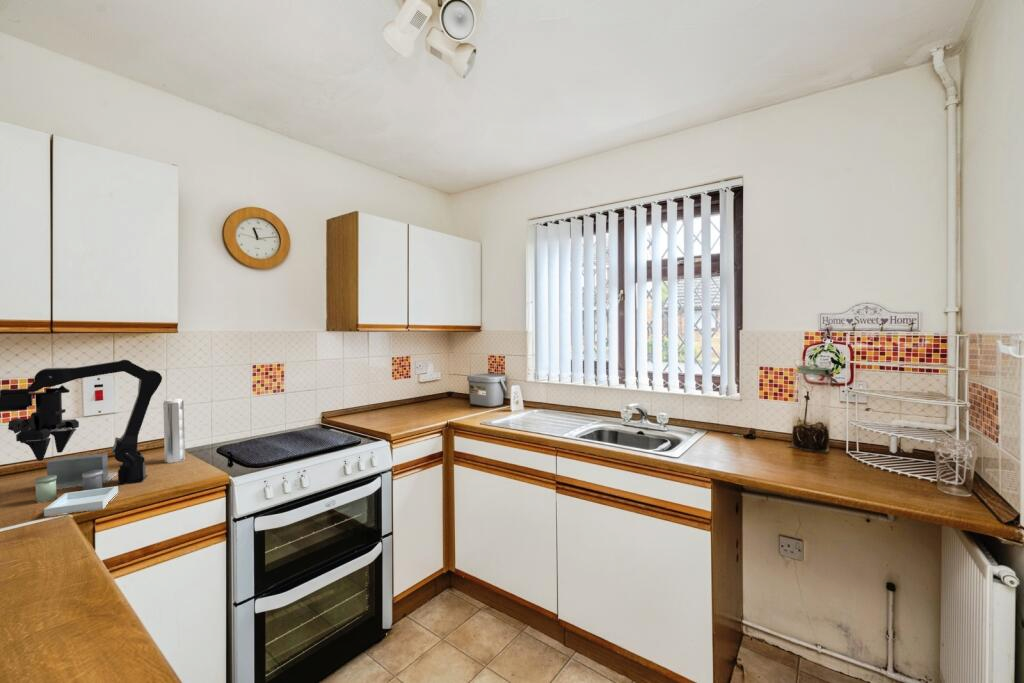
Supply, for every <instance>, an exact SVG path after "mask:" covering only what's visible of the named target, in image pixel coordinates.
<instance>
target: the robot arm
mask: <svg viewBox="0 0 1024 683" xmlns="http://www.w3.org/2000/svg"><path fill="white" fill-rule="evenodd" d="M120 372H121V373H122V372H124V373H127V374H129V375H130V376H133V378H137V379H138V385H137V395H136V398H135V400H134V401H135V402H134V403H133V407H132V410H131V413H130V415H129V419H128V421H127V423H126V427H125V429H124V433H123V434H122V436H121V437H115V438H114V443H113V445H112V447H111V448H110V449H111V452H112V454H113V457H114V459H115V460H116V461H118V462H120V463H121V464H120V465H119V469H118V470H117V477H118V478H117V479H118V480H117V481H118V485H126V484H125V483H127V484H133V482H135V483H141V481H142V482H143V481H144V480H146V478H147V477H148V475H147V474H146V473H147V472H146V460H145V457H144V454H143V453H142V452H140V451H138V443H139V442H138V441H139V434H140V430H141V428H142V425H143V422H144V420H145V417H146V414H147V411H148V408H149V405H150V401H151V399H152V398H153V395H154V394H155V393H156V391H157V390H158V389H159V387H160V385H161V383H162V381H163V376H162V374H161V373H160V372H158V371H156V370H153V369H145V368H143V367H141V366H139V365H138V364H136V363H134V362H132V361H130V360H128V359H121V360H118V361H111V362H104V363H103V362H102V363H97V364H91V365H83V366H75V367H46V368H43V369H40V370H39V371H38V372H37V373H36V374H35V376H34V381H33V382H32V383H31V384H29V385H28V386H27V388H1V389H0V413H4V412H15V411H27V410H28V408H29V407H33V404H34V401H33V399H34V398H35V412H32V413H31V414H30V417H29V418H26V419H21V418H15V419H11V420H9V421H8V424H7V430H8V431H12V432H13V433H14V434H16V435H15V441H16V442H20V444H25V445H27V446H28V447H29V448H30V449H31V451H32V453H33V454H34V457H35V459H36V460H37V461H39V462H40V461H43V460H44V458H45V455H46V453H47V451H48V447H49V445H50V442H51V438H52V437H50V436H53V438H54V443H55V450H56V452H57V453H60V454H61V453H62V452H63V451H64V450H65V448H66V446H67V444H68V442H69V441H70V439H71V437H72V436H73V434H74V433H75V431H77V428H79V427H80V423H79V420H77V419H75V418H74V419H73V418H72V419H71V418H70V419H63V414H64V413H66V408H63V406H62V405H63V400H62V396H63V395H62V394H67V393H70V389H69V388H67V387H65V386H64V384H66V383H68V382H72V381H75V380H79V379H80V380H81V379H85V378H91V377H98V376H101V375H103V376H104V375H108V374H109V375H110V374H115V373H120ZM59 385H60V386H59ZM56 386H59V387H56ZM44 388H45V391H39V390H41V389H44ZM33 396H34V398H33Z"/></svg>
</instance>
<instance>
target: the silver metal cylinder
mask: <svg viewBox="0 0 1024 683" xmlns="http://www.w3.org/2000/svg"><path fill="white" fill-rule="evenodd" d="M184 402H185V400H182V398H170V399H169V398H168V399H165V400H163V403H162V406H163V437H164V438H163V440H164V441H163V442H164V463H166V462H167V464H173V462H174V463H179V462H183V461H184V460H186V441H185V440H186V439H185V436H186V435H185V408H184V407H185V406H184Z"/></svg>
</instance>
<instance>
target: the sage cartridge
mask: <svg viewBox="0 0 1024 683" xmlns="http://www.w3.org/2000/svg"><path fill="white" fill-rule="evenodd" d="M56 480H57V476H56V475H50V476H47V475H44V476H40V477H37V478H34V480H33V482H34V484H35V487H34V488H35V502H36V501H37V502H42V503H45V502H44V501H48V502H51V501H50V500H52V501H54V500H57V499H58V498H57V489H56ZM53 499H54V500H53ZM37 502H36V503H37Z"/></svg>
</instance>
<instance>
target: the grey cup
mask: <svg viewBox="0 0 1024 683" xmlns="http://www.w3.org/2000/svg"><path fill="white" fill-rule="evenodd" d="M102 474H103V470H93V471H88V472H85V473H83V474H82V478H83V486H82V487H83V491H85V490H92V489H100V488H103V483H102Z"/></svg>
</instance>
